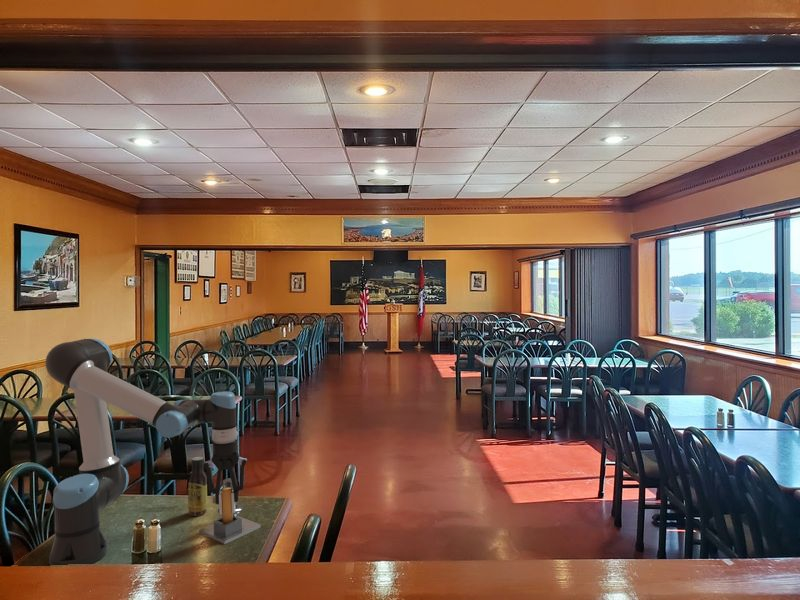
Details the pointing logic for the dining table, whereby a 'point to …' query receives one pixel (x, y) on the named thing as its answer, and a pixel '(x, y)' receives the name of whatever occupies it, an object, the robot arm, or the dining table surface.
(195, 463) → the sauce bottle
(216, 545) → the dining table surface
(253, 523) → the socket block fixture
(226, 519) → the orange cylinder
